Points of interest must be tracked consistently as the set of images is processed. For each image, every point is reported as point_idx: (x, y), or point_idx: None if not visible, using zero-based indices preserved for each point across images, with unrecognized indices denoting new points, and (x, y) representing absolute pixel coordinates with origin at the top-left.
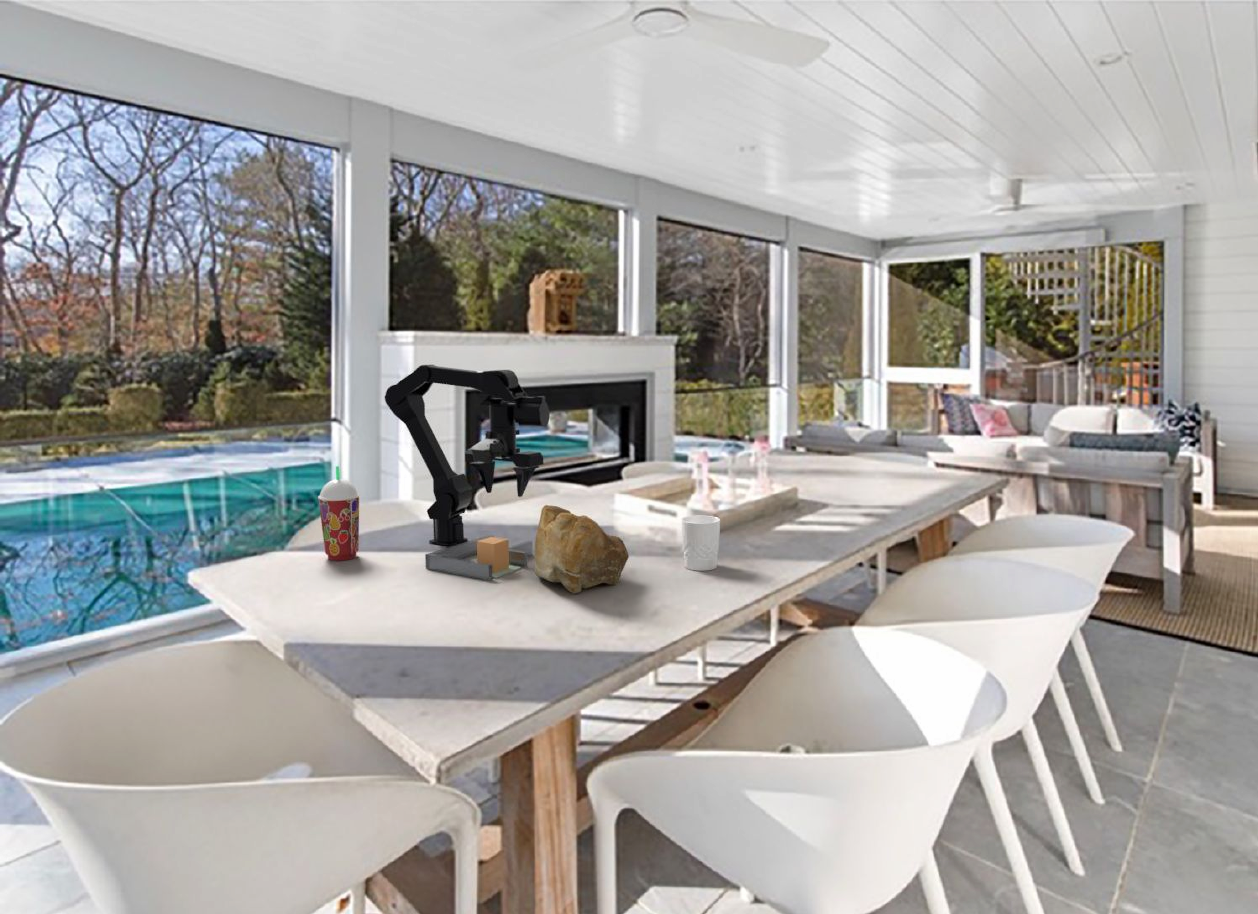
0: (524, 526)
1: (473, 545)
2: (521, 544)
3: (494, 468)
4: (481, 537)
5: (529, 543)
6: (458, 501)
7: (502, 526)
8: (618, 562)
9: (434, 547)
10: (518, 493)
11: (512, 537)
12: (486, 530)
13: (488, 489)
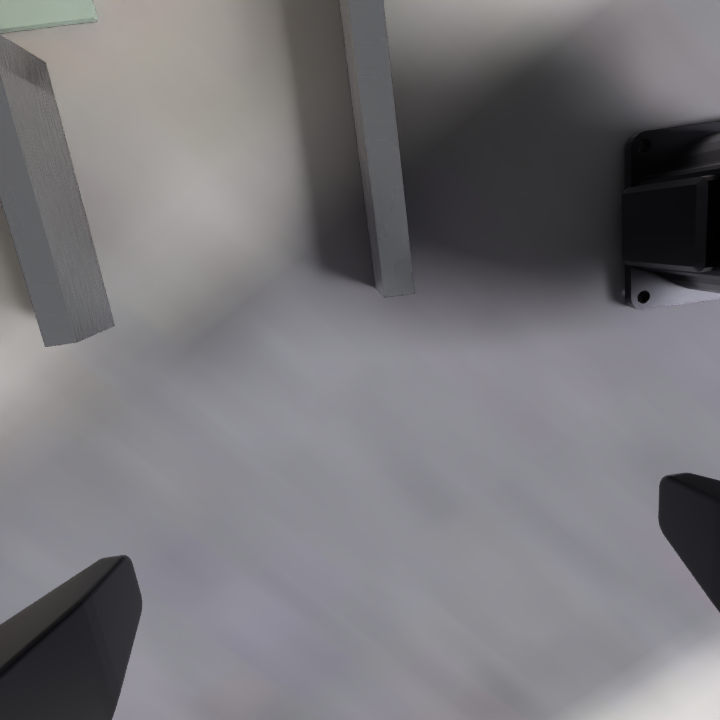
0: (590, 687)
1: (355, 82)
2: (17, 234)
3: None
4: (401, 197)
5: (41, 316)
6: None
7: (686, 624)
8: None
9: (688, 68)
10: (83, 577)
11: (474, 511)
12: None
13: (691, 503)
